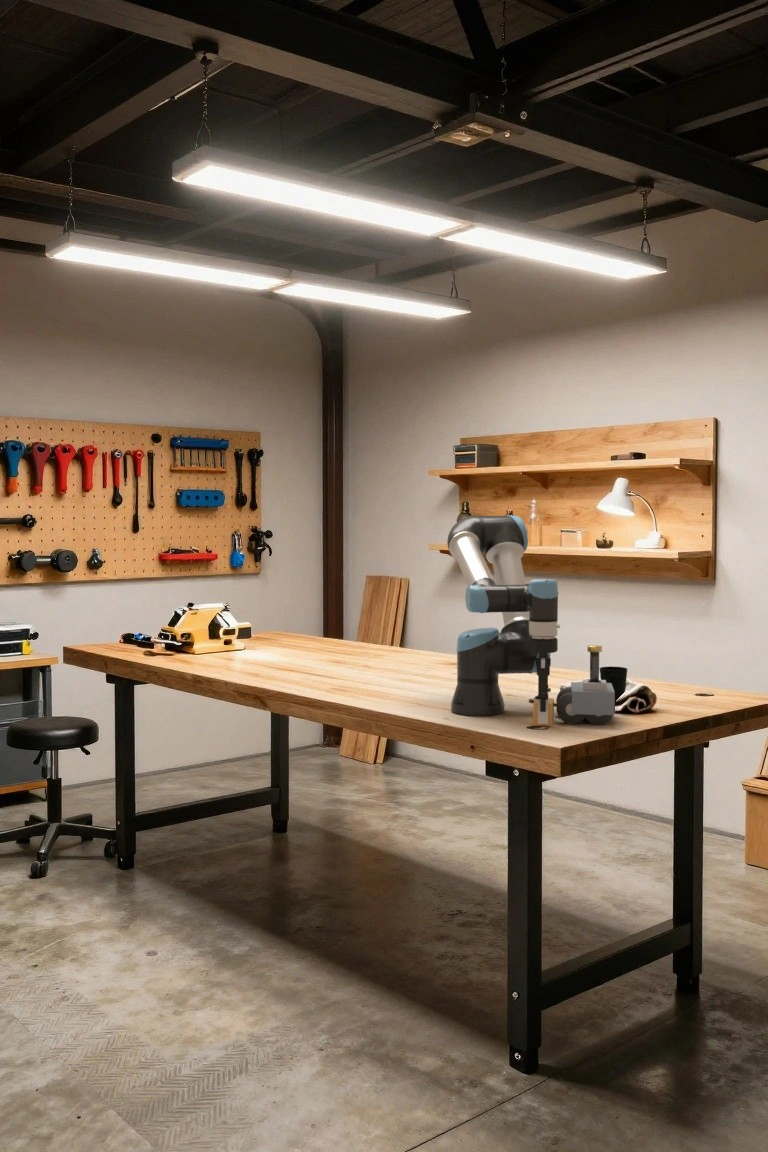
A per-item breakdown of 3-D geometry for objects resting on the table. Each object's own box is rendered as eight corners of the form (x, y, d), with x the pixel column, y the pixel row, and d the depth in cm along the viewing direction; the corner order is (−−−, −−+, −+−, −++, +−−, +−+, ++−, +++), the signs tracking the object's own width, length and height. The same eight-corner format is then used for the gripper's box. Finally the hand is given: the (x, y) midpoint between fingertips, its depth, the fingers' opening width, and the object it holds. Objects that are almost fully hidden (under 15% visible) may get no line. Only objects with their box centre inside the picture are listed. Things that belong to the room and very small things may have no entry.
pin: (587, 689, 273) (587, 646, 272) (587, 687, 276) (587, 645, 276) (602, 689, 272) (602, 647, 272) (601, 687, 276) (601, 645, 275)
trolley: (556, 725, 271) (556, 683, 271) (556, 713, 287) (556, 674, 287) (614, 726, 269) (614, 684, 268) (611, 715, 285) (611, 675, 284)
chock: (533, 726, 271) (533, 703, 271) (535, 719, 280) (535, 697, 280) (552, 726, 270) (552, 704, 270) (553, 720, 279) (553, 698, 279)
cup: (623, 707, 296) (623, 666, 296) (630, 712, 289) (630, 670, 288) (596, 708, 296) (596, 666, 296) (603, 712, 289) (603, 670, 288)
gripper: (557, 642, 262) (557, 728, 263) (557, 632, 284) (557, 712, 285) (528, 641, 263) (527, 727, 264) (530, 632, 286) (529, 711, 287)
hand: (543, 719), depth 275 cm, fingers open, 10 cm apart
